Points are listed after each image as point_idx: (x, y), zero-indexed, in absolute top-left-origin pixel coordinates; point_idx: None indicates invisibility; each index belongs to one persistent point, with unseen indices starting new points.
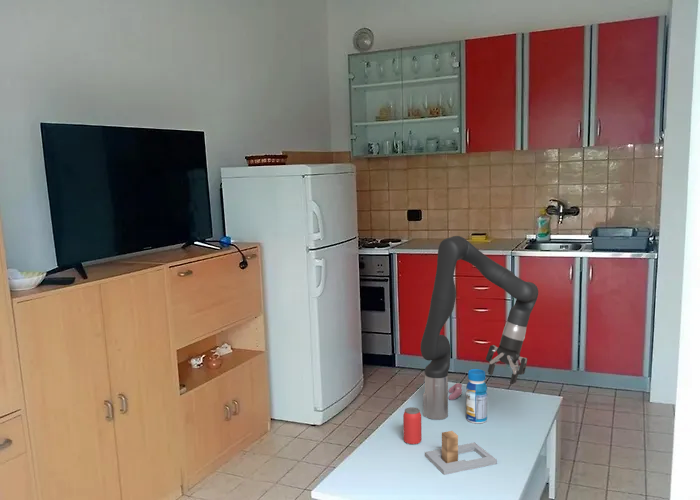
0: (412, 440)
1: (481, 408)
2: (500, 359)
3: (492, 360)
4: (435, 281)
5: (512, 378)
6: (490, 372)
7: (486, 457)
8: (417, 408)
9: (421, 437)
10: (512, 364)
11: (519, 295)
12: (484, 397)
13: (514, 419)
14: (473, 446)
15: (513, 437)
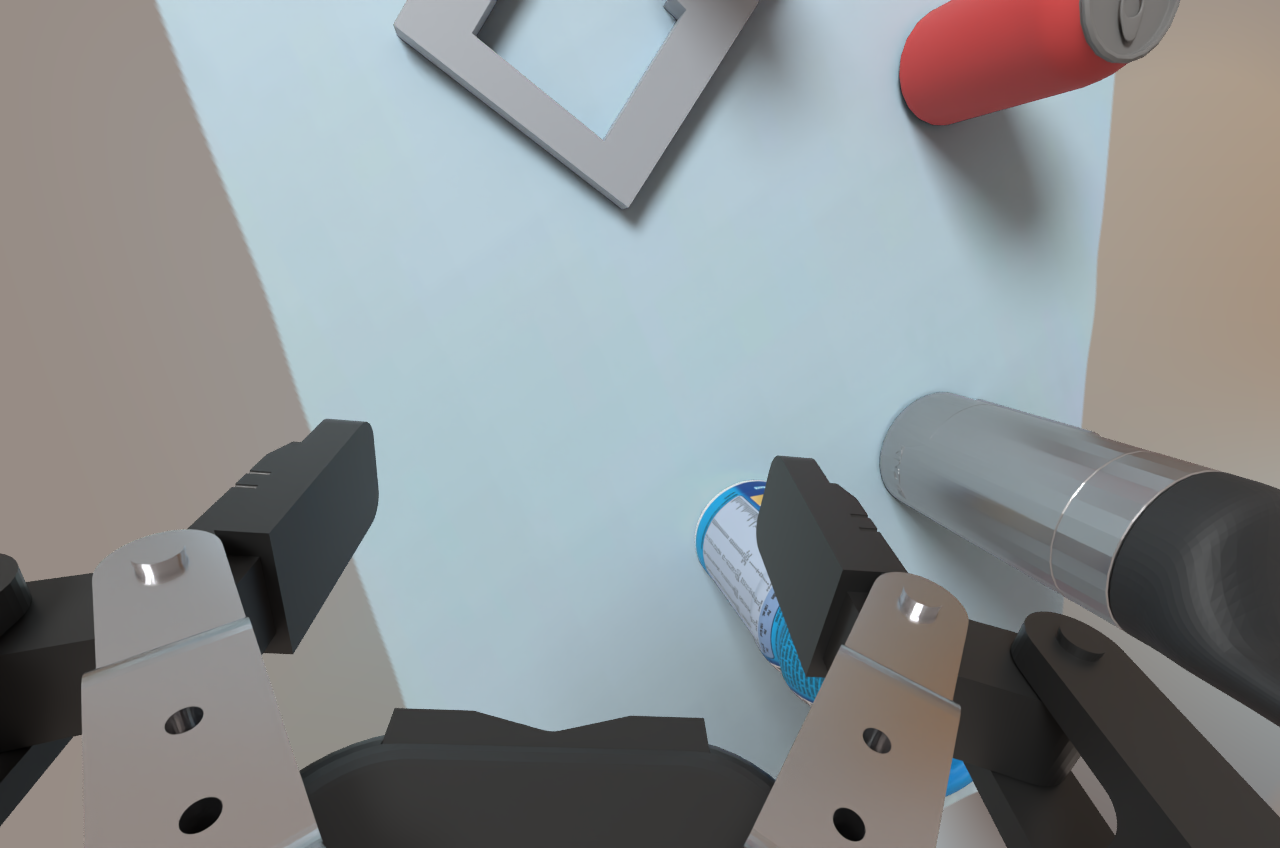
0: (944, 5)
1: (743, 543)
2: (732, 778)
3: (935, 657)
4: None
5: (283, 468)
6: (789, 471)
7: (467, 19)
8: (1109, 50)
9: (913, 88)
10: (128, 734)
11: None
12: (762, 598)
13: (580, 657)
14: (610, 142)
15: (485, 456)
